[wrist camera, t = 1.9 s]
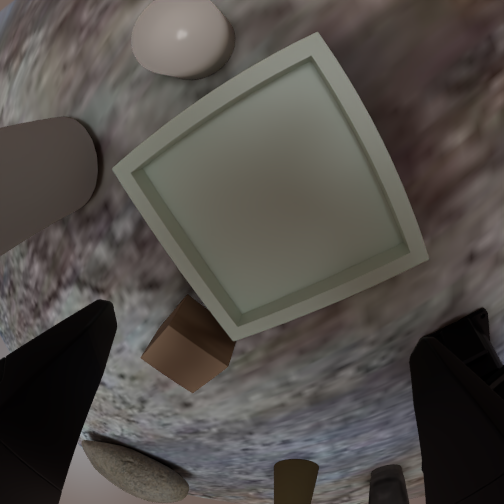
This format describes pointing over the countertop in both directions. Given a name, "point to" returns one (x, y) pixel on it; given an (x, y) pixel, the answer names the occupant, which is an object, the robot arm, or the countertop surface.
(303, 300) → the tray
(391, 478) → the beverage cup
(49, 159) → the can
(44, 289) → the countertop surface
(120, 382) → the countertop surface
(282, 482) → the cork
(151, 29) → the off-white egg
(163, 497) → the rock
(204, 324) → the walnut block
